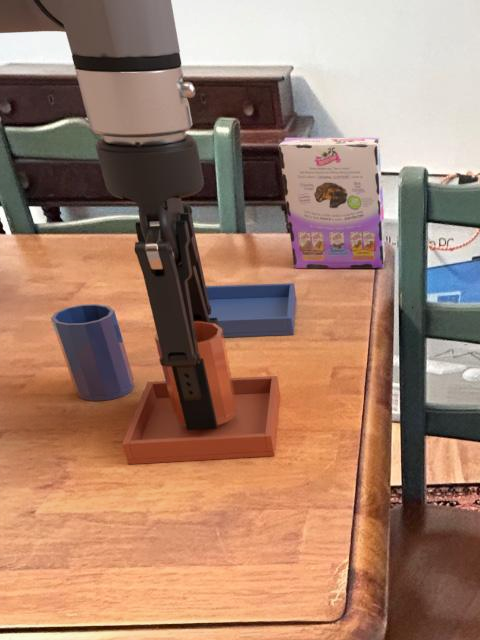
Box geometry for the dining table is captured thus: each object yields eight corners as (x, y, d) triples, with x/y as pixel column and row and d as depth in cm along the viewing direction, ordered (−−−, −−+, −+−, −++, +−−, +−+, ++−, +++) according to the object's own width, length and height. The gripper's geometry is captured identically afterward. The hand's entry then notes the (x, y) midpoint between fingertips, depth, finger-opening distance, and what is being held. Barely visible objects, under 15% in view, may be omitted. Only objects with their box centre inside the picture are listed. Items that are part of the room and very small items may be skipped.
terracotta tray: (128, 464, 67) (121, 444, 66) (152, 400, 77) (147, 381, 76) (274, 456, 69) (271, 435, 67) (280, 394, 79) (277, 375, 77)
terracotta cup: (172, 429, 70) (150, 346, 64) (180, 402, 74) (161, 322, 69) (234, 426, 70) (218, 344, 65) (239, 399, 75) (224, 320, 69)
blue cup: (71, 402, 77) (44, 325, 71) (84, 379, 81) (60, 305, 76) (129, 399, 77) (106, 323, 72) (139, 376, 82) (118, 303, 76)
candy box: (386, 258, 116) (381, 136, 105) (383, 269, 111) (378, 143, 100) (298, 257, 116) (284, 134, 105) (292, 268, 111) (277, 142, 100)
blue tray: (184, 339, 90) (180, 322, 88) (197, 302, 100) (194, 286, 98) (293, 334, 91) (291, 317, 90) (296, 298, 101) (294, 283, 100)
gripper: (177, 158, 50) (237, 457, 65) (208, 115, 64) (251, 370, 79) (62, 160, 49) (150, 462, 64) (119, 116, 63) (180, 373, 79)
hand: (206, 411), depth 72 cm, fingers closed on terracotta cup, 6 cm apart
